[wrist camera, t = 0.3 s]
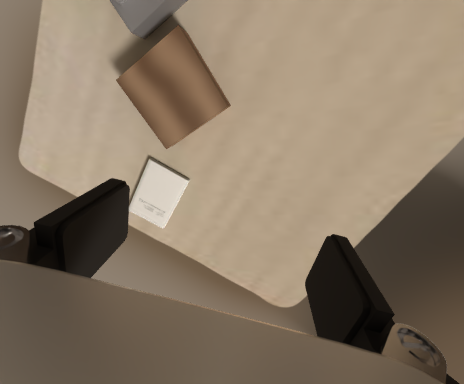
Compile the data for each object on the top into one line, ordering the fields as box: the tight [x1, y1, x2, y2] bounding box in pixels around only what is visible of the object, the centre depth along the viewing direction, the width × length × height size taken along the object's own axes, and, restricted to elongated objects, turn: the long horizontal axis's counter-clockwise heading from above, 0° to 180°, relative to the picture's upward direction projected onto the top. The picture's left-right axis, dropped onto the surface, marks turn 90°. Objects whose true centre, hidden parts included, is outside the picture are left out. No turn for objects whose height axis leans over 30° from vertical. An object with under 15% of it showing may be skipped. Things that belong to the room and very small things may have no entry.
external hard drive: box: [129, 158, 190, 228], centre depth 45 cm, size 2×8×12 cm
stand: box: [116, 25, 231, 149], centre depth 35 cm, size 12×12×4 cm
